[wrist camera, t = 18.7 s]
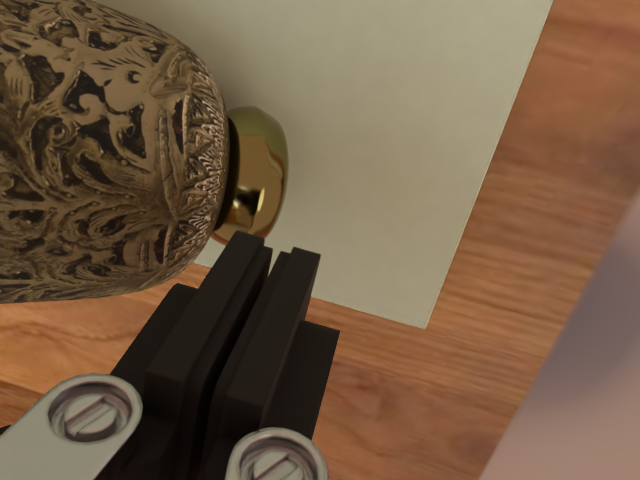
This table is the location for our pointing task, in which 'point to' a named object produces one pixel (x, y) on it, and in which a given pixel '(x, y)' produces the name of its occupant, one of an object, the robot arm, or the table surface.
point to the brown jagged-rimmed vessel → (119, 155)
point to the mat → (368, 125)
